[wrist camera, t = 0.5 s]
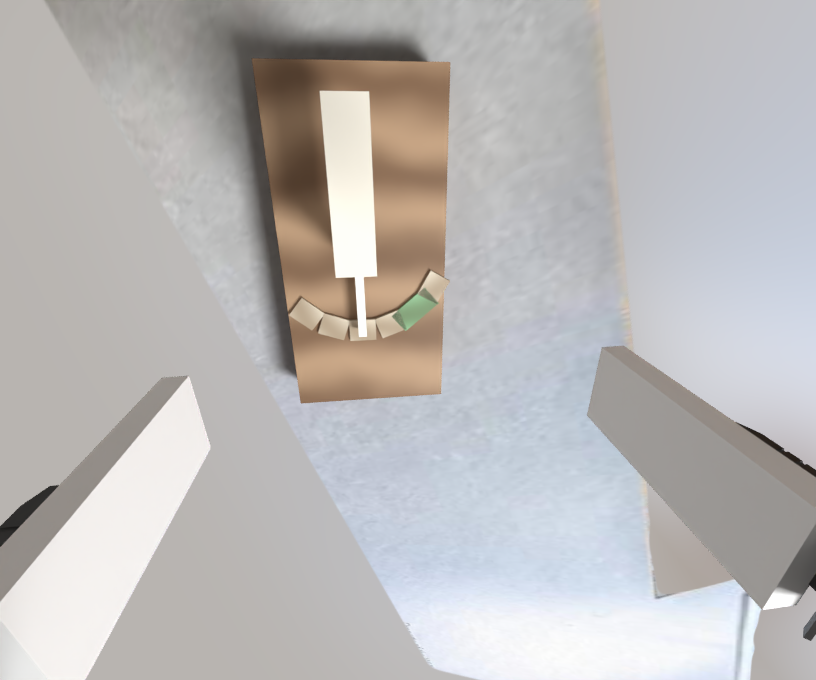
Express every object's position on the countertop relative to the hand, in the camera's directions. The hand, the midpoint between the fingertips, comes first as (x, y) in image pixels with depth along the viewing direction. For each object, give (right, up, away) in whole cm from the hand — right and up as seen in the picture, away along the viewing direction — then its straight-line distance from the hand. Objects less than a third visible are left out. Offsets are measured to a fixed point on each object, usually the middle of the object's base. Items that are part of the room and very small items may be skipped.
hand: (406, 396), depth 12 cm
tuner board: (-4, +10, +24) cm, 26 cm away
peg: (-4, +10, +20) cm, 22 cm away
